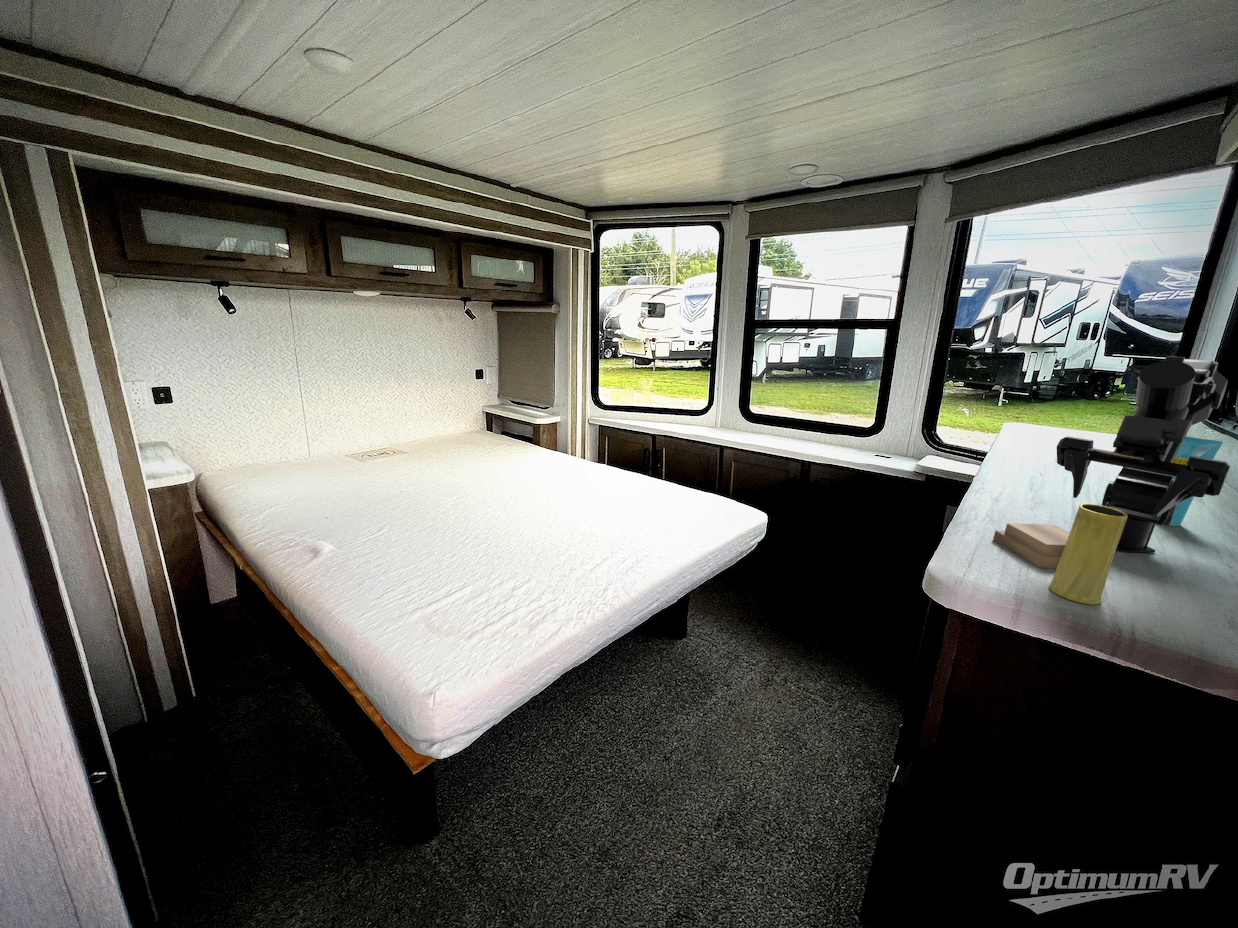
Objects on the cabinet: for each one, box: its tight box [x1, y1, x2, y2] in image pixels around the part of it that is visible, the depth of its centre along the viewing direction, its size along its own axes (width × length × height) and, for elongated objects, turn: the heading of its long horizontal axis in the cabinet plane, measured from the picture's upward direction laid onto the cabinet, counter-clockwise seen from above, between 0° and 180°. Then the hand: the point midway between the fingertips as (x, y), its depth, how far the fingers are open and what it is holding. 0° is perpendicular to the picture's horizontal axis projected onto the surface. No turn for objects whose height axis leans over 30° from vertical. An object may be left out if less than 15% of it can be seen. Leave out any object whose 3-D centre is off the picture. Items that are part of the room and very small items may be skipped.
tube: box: [1160, 435, 1224, 527], centre depth 102 cm, size 7×5×19 cm, turn 23°
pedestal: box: [992, 522, 1070, 569], centre depth 88 cm, size 11×11×4 cm
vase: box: [1048, 503, 1128, 605], centre depth 73 cm, size 6×6×14 cm
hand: (1113, 505), depth 75 cm, fingers open, 9 cm apart
